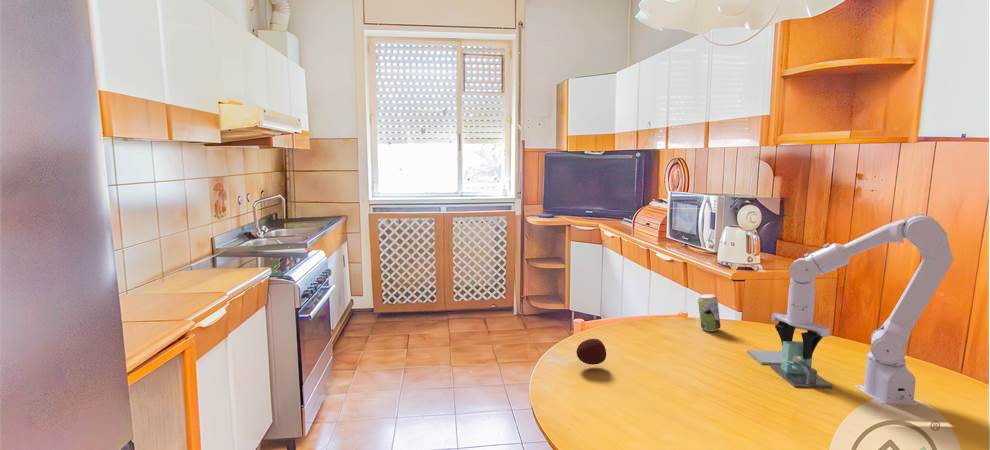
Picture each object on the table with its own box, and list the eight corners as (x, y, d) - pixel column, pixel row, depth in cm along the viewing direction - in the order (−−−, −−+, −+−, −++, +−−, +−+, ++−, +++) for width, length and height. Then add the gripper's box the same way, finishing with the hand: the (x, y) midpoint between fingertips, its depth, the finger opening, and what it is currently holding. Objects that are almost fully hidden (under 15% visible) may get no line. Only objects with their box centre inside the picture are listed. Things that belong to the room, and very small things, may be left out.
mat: (806, 365, 133) (806, 363, 133) (761, 364, 134) (761, 362, 134) (789, 353, 142) (789, 351, 142) (746, 352, 143) (746, 350, 143)
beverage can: (723, 333, 160) (725, 297, 158) (701, 332, 160) (702, 297, 159) (715, 326, 166) (717, 292, 165) (693, 326, 166) (695, 292, 165)
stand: (832, 388, 119) (833, 371, 119) (794, 386, 120) (795, 370, 120) (804, 368, 131) (805, 353, 131) (770, 367, 132) (771, 352, 131)
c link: (810, 373, 126) (813, 345, 125) (786, 373, 126) (788, 345, 125) (804, 369, 129) (806, 341, 128) (780, 368, 129) (782, 341, 128)
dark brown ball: (571, 360, 137) (572, 336, 136) (598, 357, 139) (599, 333, 138) (582, 370, 130) (583, 345, 129) (611, 367, 132) (612, 342, 131)
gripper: (839, 310, 120) (835, 362, 122) (785, 296, 134) (782, 343, 135) (820, 313, 118) (816, 366, 119) (767, 298, 131) (764, 346, 133)
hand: (796, 354), depth 127 cm, fingers closed on c link, 5 cm apart
